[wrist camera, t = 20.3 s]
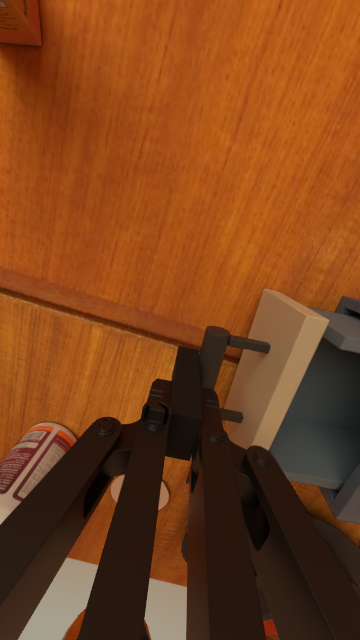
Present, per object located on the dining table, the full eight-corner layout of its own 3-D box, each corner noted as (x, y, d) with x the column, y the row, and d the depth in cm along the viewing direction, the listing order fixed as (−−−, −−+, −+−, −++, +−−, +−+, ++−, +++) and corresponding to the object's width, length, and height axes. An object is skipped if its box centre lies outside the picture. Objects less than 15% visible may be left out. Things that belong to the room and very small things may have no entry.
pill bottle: (22, 446, 26) (-97, 589, 15) (36, 411, 24) (-89, 548, 13) (70, 466, 26) (-11, 616, 16) (88, 434, 25) (9, 581, 14)
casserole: (164, 552, 32) (155, 655, 24) (212, 471, 26) (221, 573, 18) (317, 593, 33) (356, 701, 26) (397, 526, 27) (481, 642, 19)
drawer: (180, 401, 21) (175, 469, 15) (211, 276, 17) (222, 297, 11) (363, 437, 22) (436, 519, 15) (438, 324, 17) (583, 372, 11)
